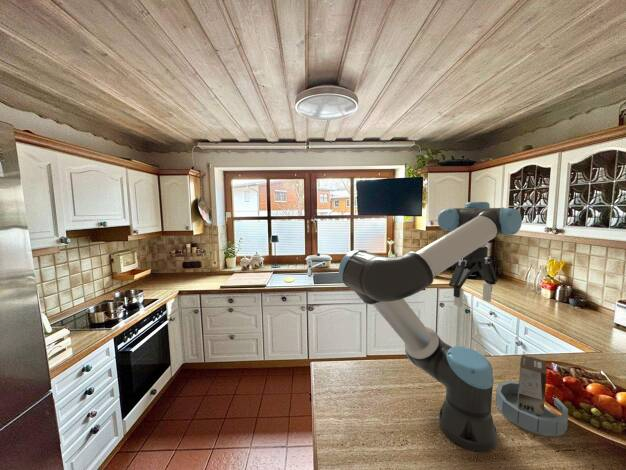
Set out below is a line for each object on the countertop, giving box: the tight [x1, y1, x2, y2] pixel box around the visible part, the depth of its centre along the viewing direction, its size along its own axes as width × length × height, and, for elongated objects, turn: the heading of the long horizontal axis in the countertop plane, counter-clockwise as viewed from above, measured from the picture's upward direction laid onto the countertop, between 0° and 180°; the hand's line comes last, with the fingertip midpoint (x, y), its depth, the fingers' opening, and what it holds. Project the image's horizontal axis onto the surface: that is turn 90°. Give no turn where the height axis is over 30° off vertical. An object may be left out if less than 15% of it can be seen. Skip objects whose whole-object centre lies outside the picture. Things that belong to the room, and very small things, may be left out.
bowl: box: [495, 380, 569, 438], centre depth 85 cm, size 17×17×5 cm
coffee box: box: [518, 354, 548, 417], centre depth 84 cm, size 9×6×16 cm
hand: (472, 303), depth 96 cm, fingers open, 13 cm apart
